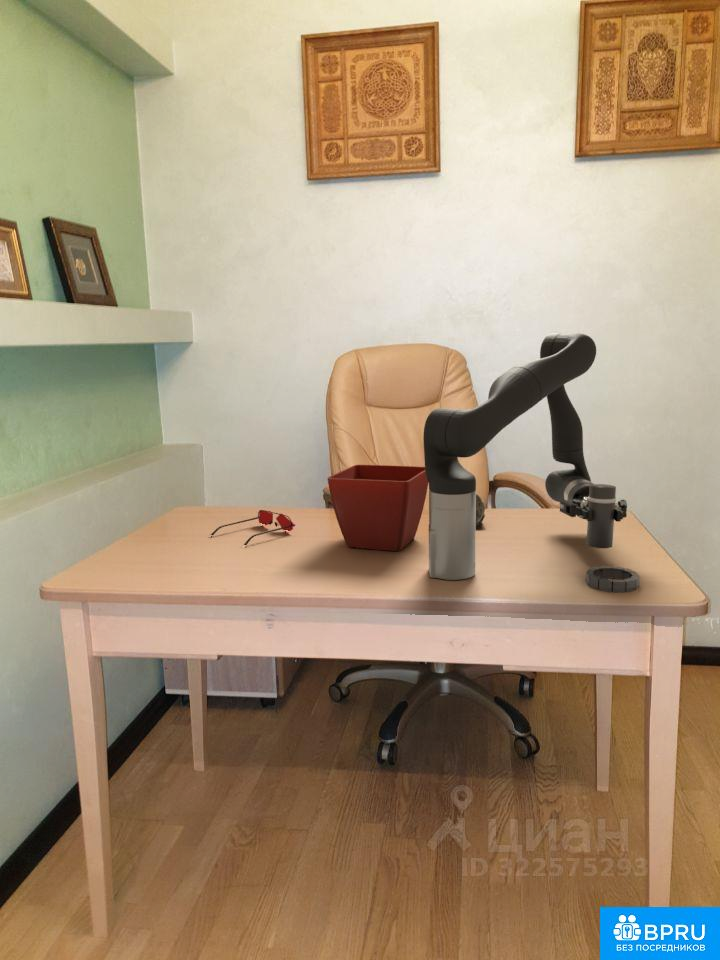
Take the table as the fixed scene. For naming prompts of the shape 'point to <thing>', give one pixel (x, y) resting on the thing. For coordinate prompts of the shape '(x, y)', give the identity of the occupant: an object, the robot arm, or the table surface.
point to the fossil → (479, 510)
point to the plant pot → (378, 504)
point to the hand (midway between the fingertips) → (604, 516)
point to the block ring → (598, 581)
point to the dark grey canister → (601, 515)
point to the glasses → (267, 522)
